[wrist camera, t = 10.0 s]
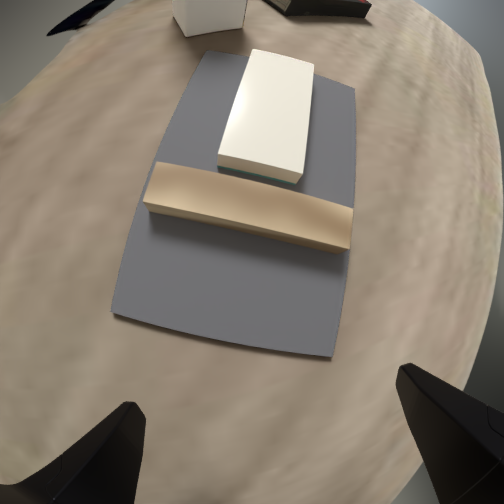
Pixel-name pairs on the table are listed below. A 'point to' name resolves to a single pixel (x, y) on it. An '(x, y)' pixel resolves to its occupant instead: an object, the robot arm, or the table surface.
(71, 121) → the table surface
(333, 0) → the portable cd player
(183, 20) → the medicine bottle
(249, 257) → the mat
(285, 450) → the table surface
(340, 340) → the table surface
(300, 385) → the table surface
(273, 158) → the tile
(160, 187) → the ledge
